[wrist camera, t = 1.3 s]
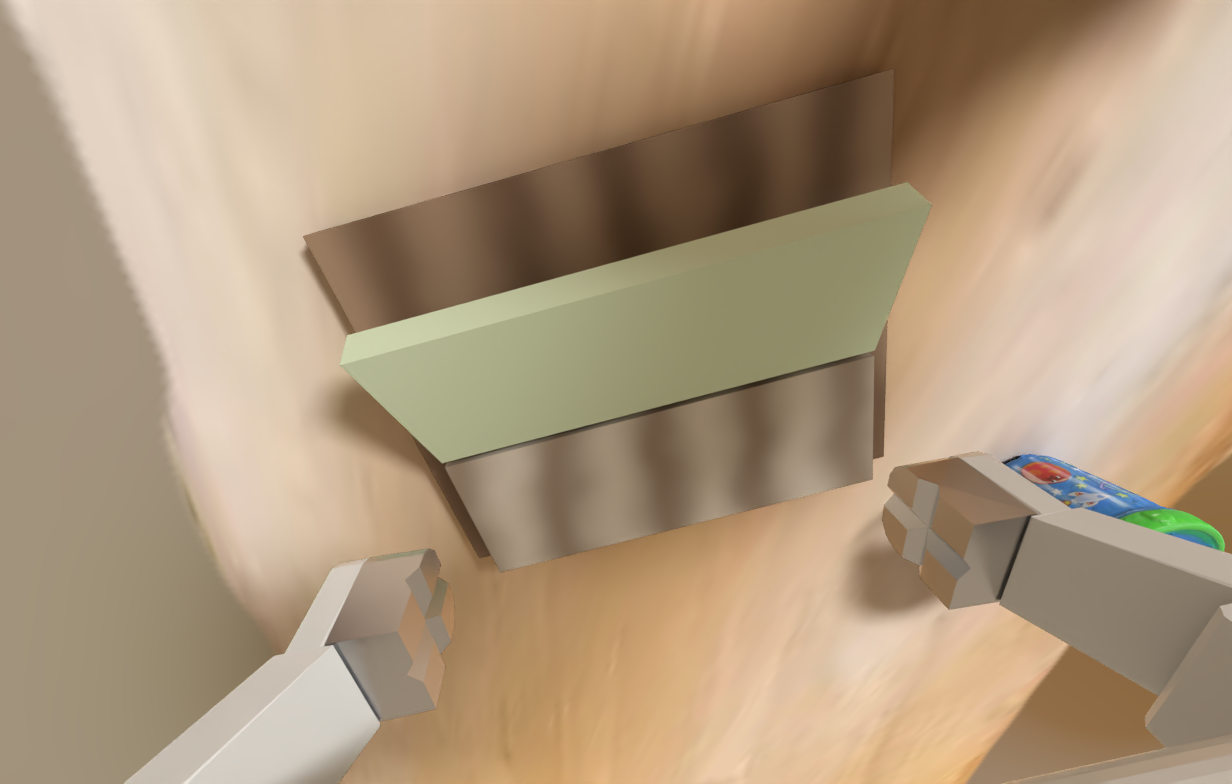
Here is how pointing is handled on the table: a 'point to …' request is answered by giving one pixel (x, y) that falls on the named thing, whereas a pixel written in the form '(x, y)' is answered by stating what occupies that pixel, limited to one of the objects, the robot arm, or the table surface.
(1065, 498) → the snack cup
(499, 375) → the board
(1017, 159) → the table surface
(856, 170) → the floor board
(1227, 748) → the robot arm
